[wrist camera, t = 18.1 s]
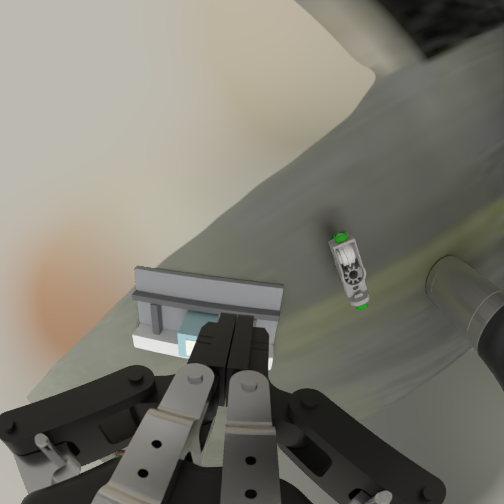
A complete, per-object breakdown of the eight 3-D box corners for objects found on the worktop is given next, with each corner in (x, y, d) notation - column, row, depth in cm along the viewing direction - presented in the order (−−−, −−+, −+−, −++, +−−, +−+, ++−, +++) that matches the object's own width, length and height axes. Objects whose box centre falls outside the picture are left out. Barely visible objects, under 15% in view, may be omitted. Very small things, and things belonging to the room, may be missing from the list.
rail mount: (283, 284, 42) (284, 300, 38) (269, 360, 48) (268, 378, 43) (137, 265, 43) (124, 277, 38) (145, 340, 48) (136, 355, 44)
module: (219, 312, 43) (210, 340, 36) (218, 334, 45) (210, 362, 38) (189, 308, 43) (176, 334, 36) (189, 329, 45) (178, 357, 38)
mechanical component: (336, 279, 41) (353, 314, 32) (315, 220, 38) (329, 241, 29) (353, 272, 41) (374, 305, 31) (333, 212, 38) (353, 231, 28)
